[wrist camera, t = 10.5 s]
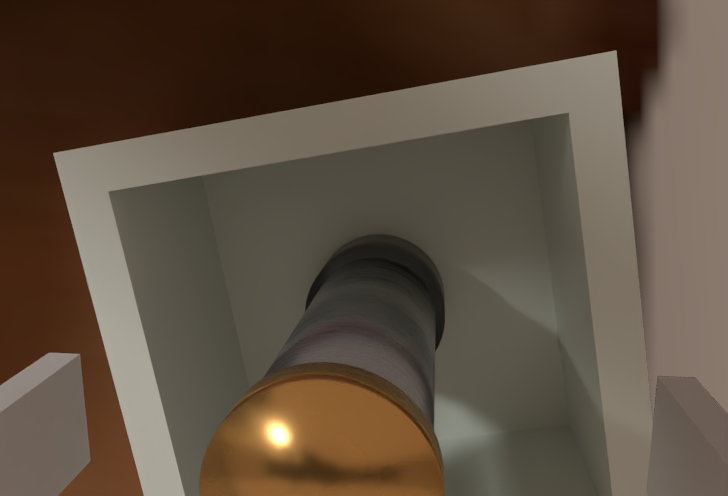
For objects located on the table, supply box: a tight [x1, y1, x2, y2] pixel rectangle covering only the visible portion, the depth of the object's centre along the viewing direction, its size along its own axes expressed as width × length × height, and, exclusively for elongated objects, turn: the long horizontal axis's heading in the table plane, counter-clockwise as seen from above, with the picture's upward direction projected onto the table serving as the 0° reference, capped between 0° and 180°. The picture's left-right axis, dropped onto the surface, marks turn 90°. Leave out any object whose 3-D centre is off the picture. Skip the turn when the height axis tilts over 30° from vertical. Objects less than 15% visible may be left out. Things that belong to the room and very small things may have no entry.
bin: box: [53, 51, 653, 496], centre depth 22 cm, size 14×14×8 cm
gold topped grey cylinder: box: [199, 234, 445, 496], centre depth 19 cm, size 5×5×13 cm
